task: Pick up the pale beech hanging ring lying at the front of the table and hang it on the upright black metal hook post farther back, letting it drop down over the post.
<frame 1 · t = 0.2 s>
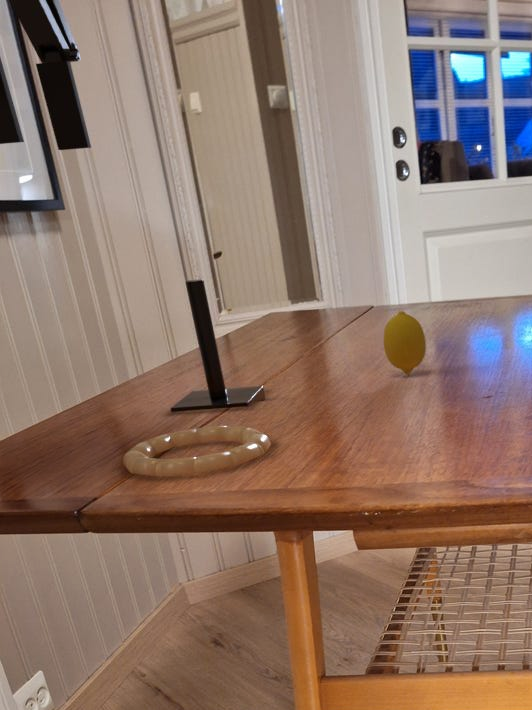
hand: (42, 146, 72), 27 cm above the table, tool pointing down, fingers open, 13 cm apart
hanging ring: (198, 453, 83), point 1 cm above the table
lemon: (408, 375, 116), on the table
hook post: (221, 409, 105), on the table
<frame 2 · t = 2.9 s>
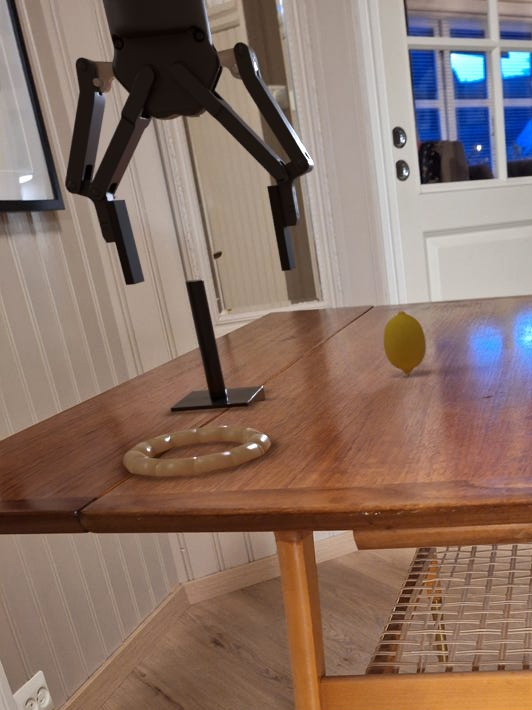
hand: (212, 276, 76), 17 cm above the table, tool pointing down, fingers open, 13 cm apart
nothing on the table moved.
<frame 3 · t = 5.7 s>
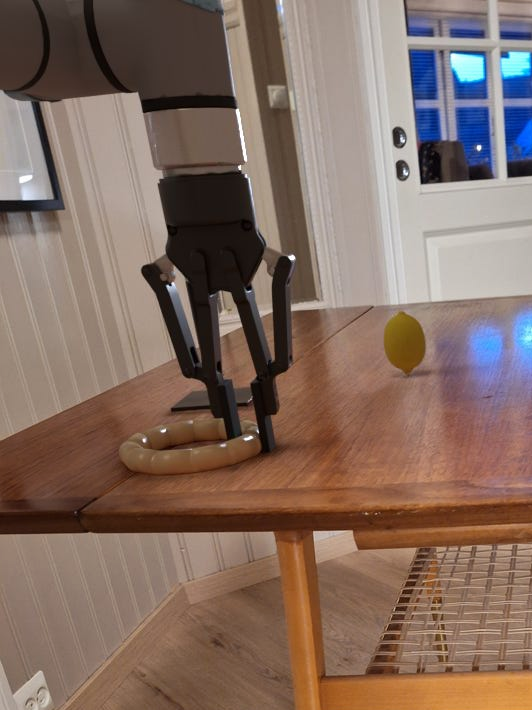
hand: (253, 449, 83), 1 cm above the table, tool pointing down, fingers closed on hanging ring, 2 cm apart
hanging ring: (194, 445, 83), point 2 cm above the table, touching gripper
everything else where it was.
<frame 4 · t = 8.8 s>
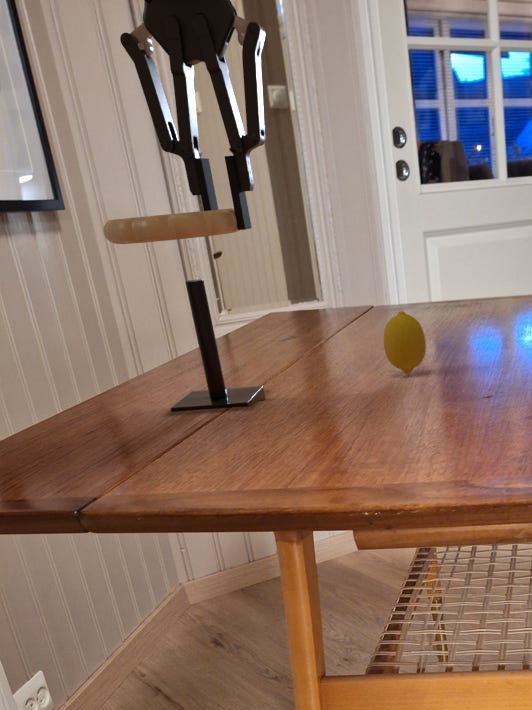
hand: (230, 229, 88), 20 cm above the table, tool pointing down, fingers closed on hanging ring, 2 cm apart
hanging ring: (174, 226, 88), point 20 cm above the table, touching gripper
everything else where it was.
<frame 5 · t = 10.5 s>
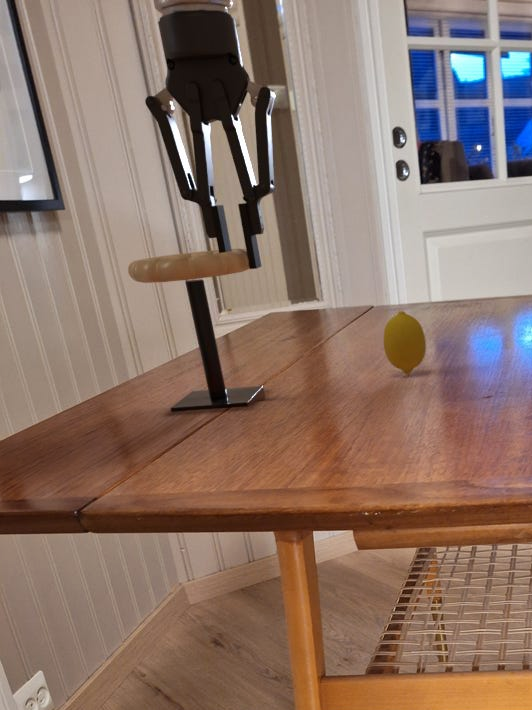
hand: (242, 268, 98), 15 cm above the table, tool pointing down, fingers closed on hanging ring, 2 cm apart
hanging ring: (192, 265, 97), point 16 cm above the table, touching gripper
everything else where it was.
when the fingers open (12 cm above the table, at t = 11.8 s): hanging ring drops 10 cm, resting on hook post.
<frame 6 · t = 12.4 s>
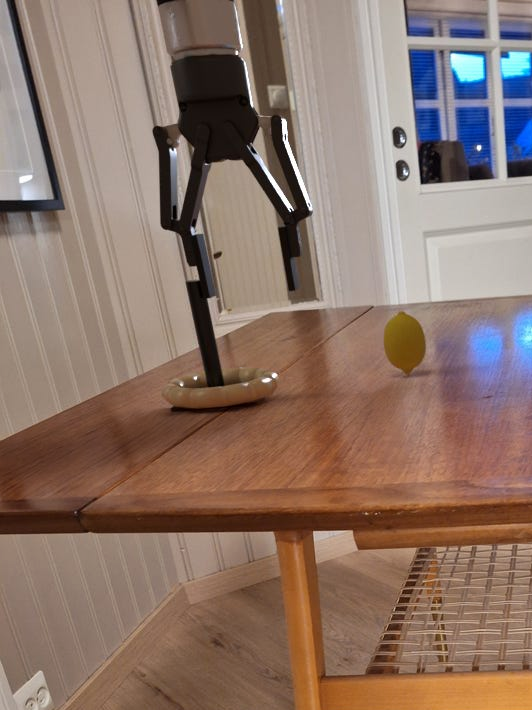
hand: (251, 293, 99), 13 cm above the table, tool pointing down, fingers open, 9 cm apart
hanging ring: (221, 387, 104), point 3 cm above the table, touching hook post
everything else where it was.
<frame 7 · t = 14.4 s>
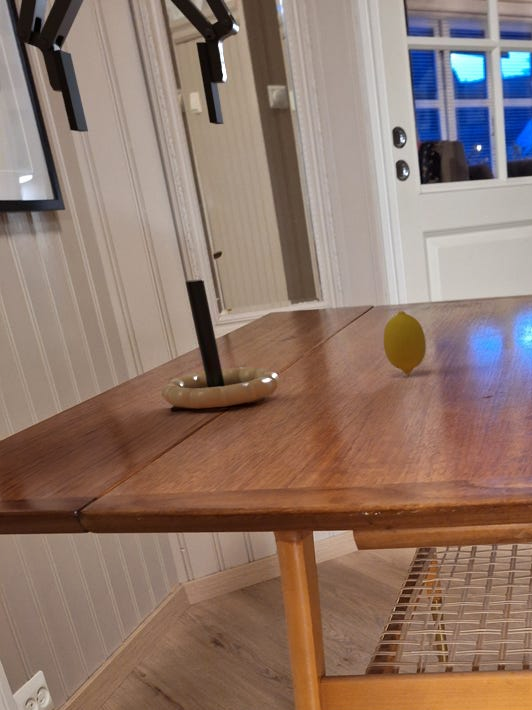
hand: (148, 127, 86), 29 cm above the table, tool pointing down, fingers open, 13 cm apart
nothing on the table moved.
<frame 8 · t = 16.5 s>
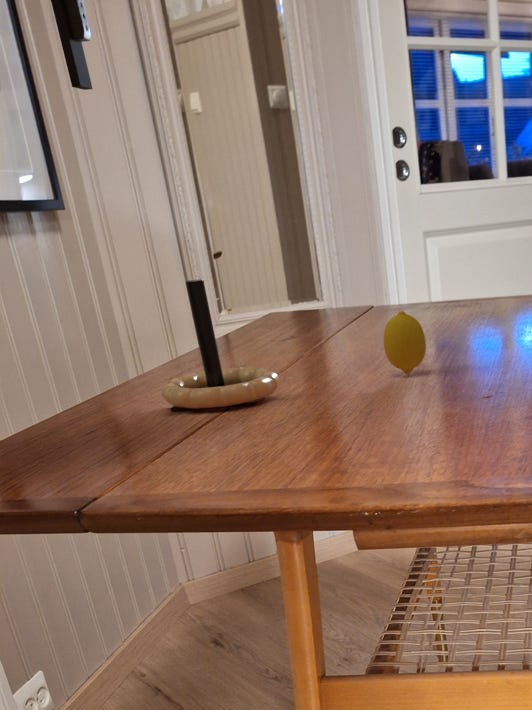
hand: (5, 94, 75), 32 cm above the table, tool pointing down, fingers open, 13 cm apart
nothing on the table moved.
at the end: hanging ring 0.6 cm from the hook post (horizontally); hanging ring 0.6 cm off-centre on the hook post, point 2.6 cm above the hook post's base; the gripper is holding nothing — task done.
